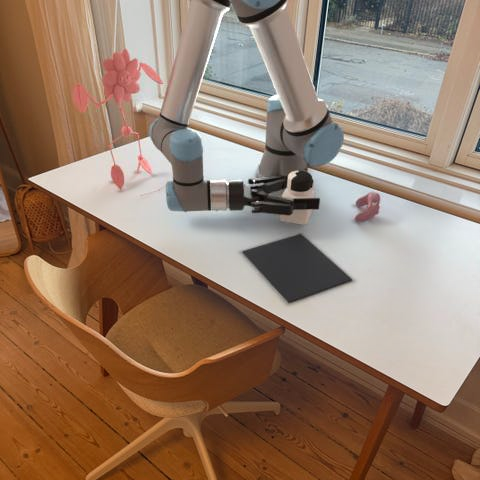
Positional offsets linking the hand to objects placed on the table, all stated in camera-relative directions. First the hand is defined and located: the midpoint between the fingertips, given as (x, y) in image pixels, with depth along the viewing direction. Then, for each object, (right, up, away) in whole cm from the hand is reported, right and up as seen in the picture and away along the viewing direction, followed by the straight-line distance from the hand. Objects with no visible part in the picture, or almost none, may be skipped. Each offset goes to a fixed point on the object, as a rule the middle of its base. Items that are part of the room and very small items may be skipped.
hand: (315, 193), depth 119 cm
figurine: (-49, +7, +18) cm, 53 cm away
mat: (-6, -20, -10) cm, 23 cm away
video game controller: (+15, -4, +8) cm, 17 cm away
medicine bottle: (-5, -5, +4) cm, 8 cm away
